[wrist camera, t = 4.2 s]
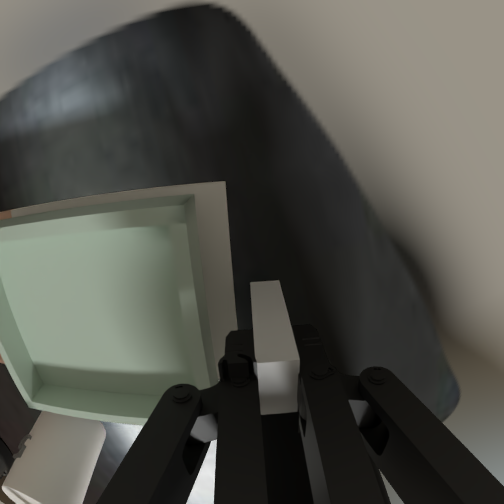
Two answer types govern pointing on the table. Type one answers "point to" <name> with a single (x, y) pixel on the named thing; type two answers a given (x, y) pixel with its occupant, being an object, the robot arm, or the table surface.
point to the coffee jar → (291, 461)
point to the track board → (210, 240)
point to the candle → (55, 460)
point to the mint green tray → (105, 307)
